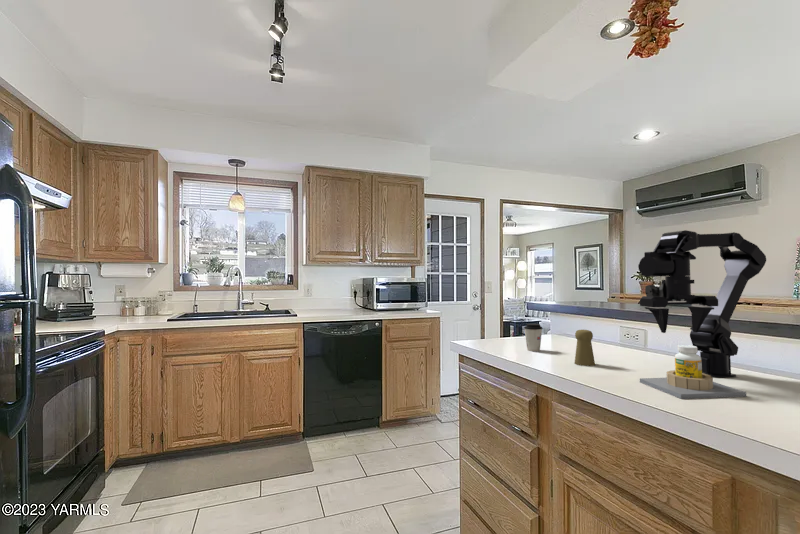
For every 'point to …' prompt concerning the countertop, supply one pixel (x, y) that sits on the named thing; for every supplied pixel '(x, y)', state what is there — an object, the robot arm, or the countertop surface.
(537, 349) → the coffee cup
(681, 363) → the supplement bottle
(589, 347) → the cork
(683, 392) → the socket stand
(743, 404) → the countertop surface
